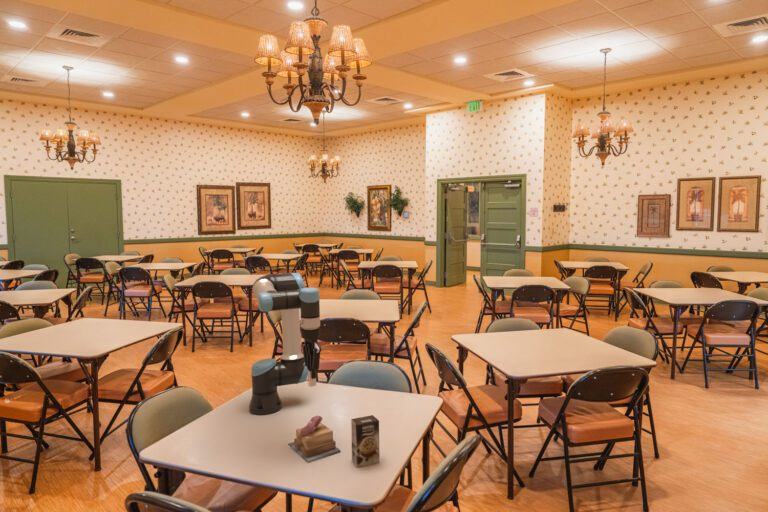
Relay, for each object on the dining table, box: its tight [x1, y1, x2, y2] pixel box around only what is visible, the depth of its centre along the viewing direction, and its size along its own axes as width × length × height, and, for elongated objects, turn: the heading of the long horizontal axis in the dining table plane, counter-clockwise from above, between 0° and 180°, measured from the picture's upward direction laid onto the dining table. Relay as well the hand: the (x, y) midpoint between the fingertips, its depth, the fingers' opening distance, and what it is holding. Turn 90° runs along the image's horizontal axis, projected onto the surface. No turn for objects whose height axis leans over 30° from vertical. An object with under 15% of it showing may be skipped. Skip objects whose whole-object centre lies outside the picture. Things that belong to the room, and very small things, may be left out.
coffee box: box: [350, 414, 381, 468], centre depth 183 cm, size 9×6×16 cm
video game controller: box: [300, 414, 323, 435], centre depth 192 cm, size 10×5×7 cm, turn 162°
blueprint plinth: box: [287, 422, 341, 464], centre depth 194 cm, size 18×14×8 cm
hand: (312, 385), depth 195 cm, fingers closed
